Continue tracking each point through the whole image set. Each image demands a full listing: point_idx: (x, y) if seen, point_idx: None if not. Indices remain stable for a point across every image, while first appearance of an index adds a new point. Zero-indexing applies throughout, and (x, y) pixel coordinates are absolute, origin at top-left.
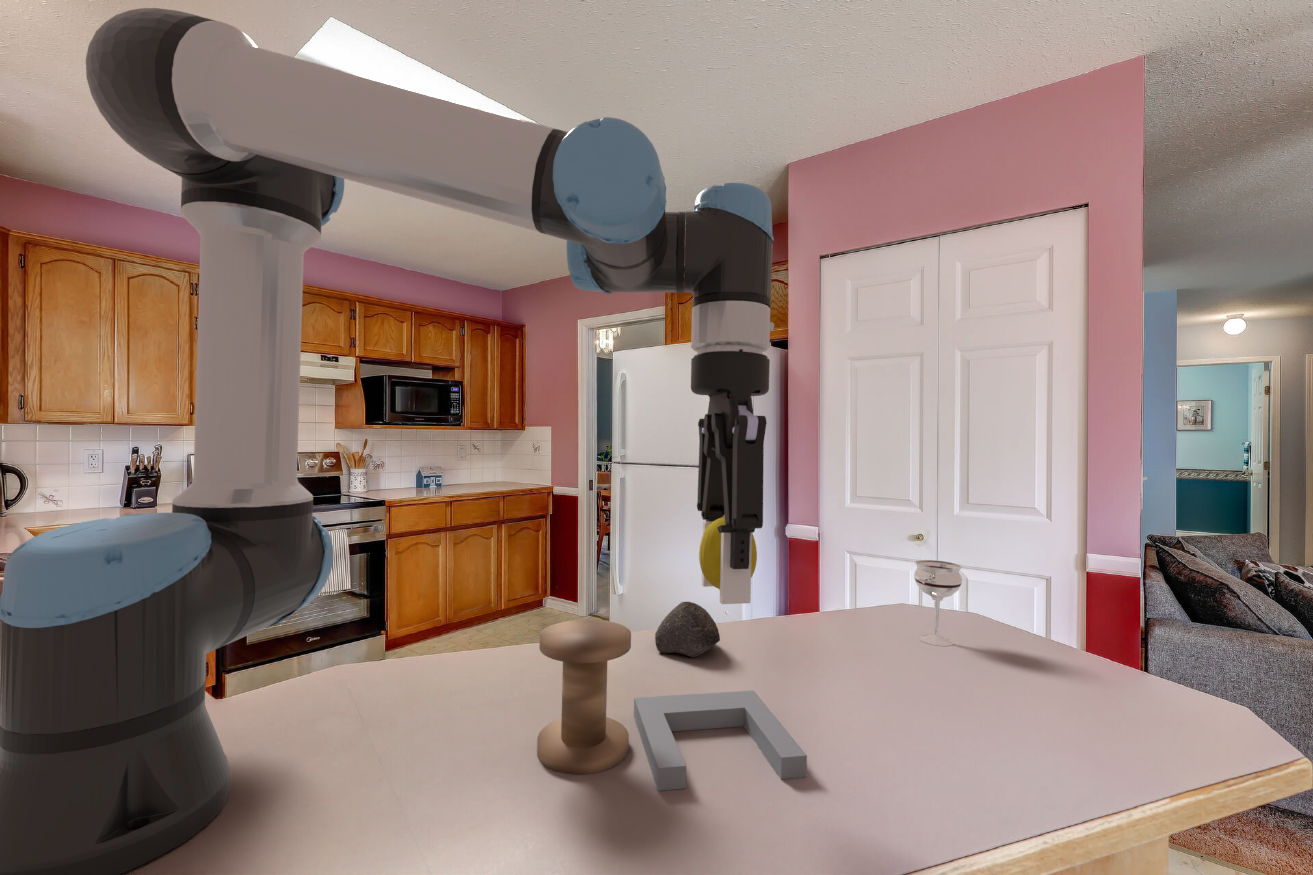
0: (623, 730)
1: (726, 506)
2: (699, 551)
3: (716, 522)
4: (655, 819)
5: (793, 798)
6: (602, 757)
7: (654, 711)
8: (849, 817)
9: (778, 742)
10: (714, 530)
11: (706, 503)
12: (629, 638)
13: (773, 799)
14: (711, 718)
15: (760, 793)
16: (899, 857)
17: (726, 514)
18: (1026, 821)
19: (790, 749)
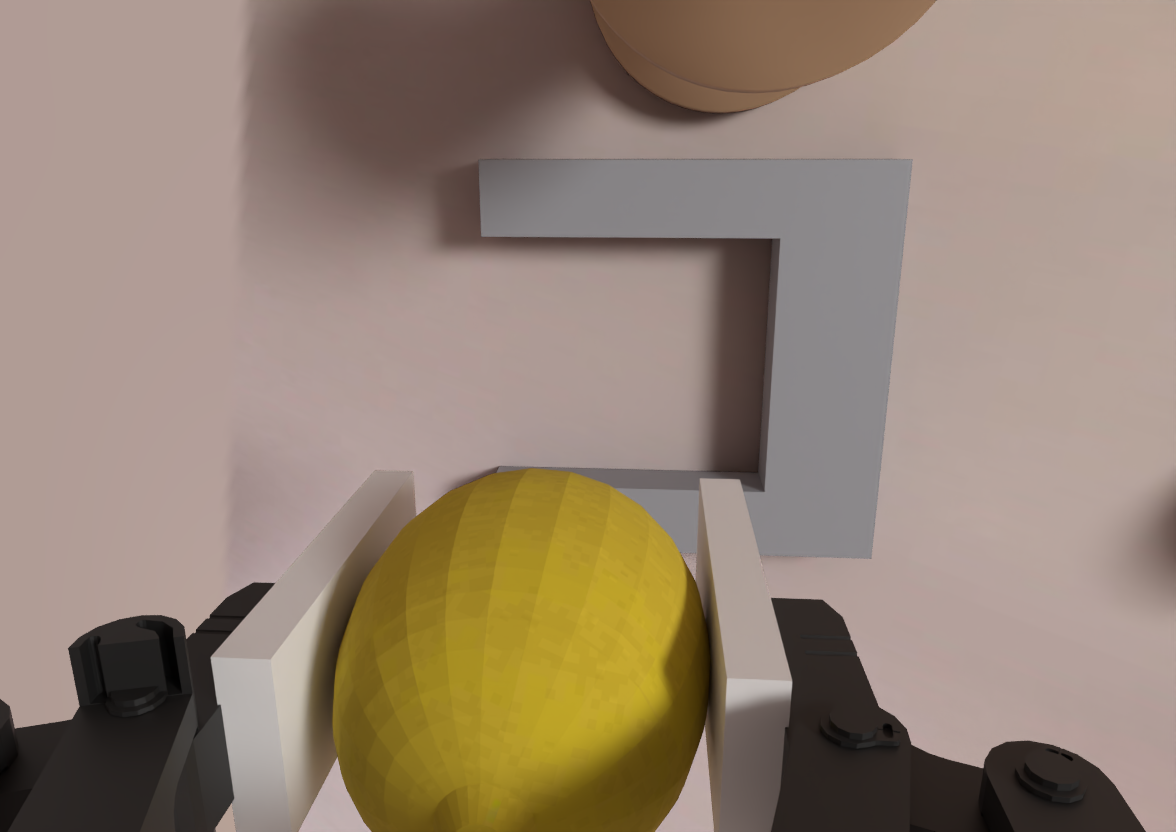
0: (739, 97)
1: (75, 807)
2: (561, 501)
3: (453, 706)
4: (384, 132)
5: (428, 463)
6: (596, 12)
7: (797, 211)
8: None
9: None
10: (403, 643)
11: (776, 807)
12: (675, 71)
13: (429, 420)
14: (767, 385)
15: (453, 400)
16: (245, 570)
17: (119, 758)
18: (323, 829)
19: None
